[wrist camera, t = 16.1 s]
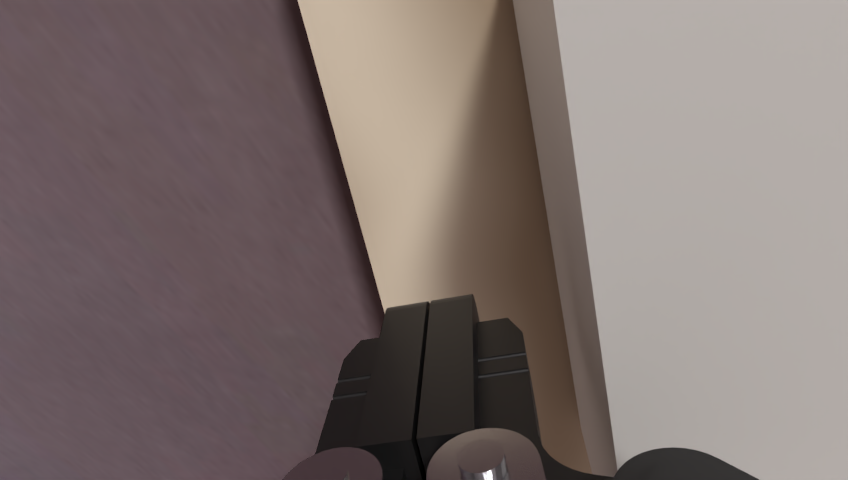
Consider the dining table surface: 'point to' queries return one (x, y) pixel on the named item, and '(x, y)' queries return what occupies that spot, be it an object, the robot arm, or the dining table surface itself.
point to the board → (449, 172)
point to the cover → (699, 223)
